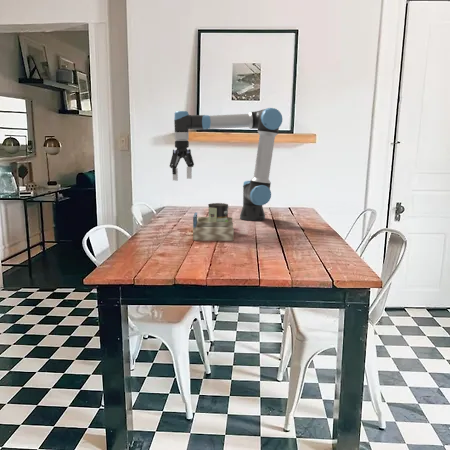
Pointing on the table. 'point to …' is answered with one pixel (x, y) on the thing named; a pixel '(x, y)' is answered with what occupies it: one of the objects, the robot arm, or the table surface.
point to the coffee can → (218, 212)
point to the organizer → (212, 229)
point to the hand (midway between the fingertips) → (182, 179)
